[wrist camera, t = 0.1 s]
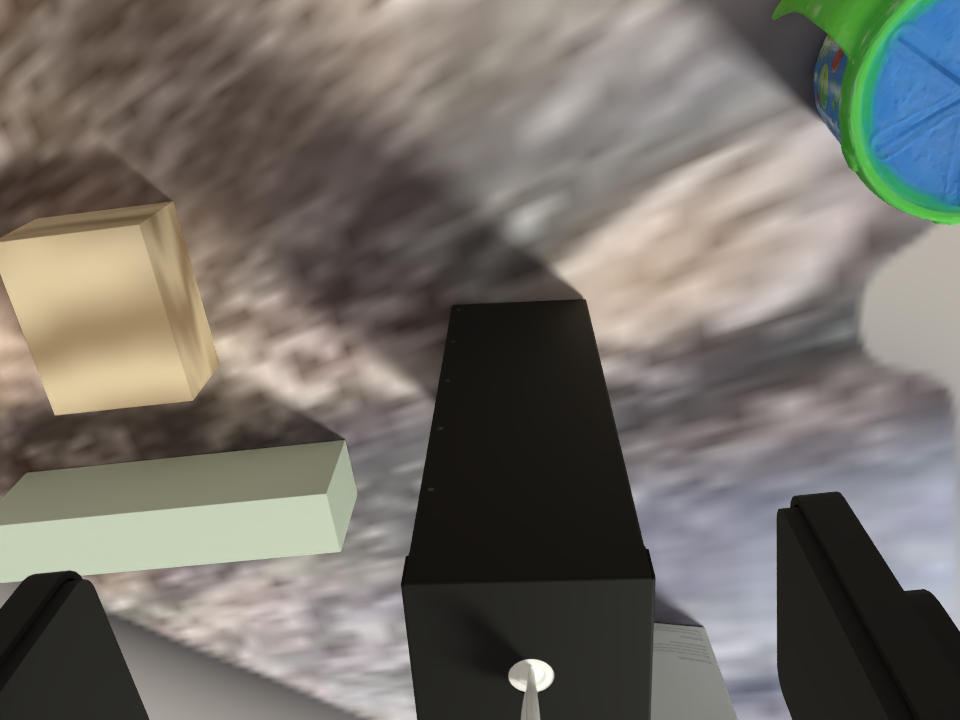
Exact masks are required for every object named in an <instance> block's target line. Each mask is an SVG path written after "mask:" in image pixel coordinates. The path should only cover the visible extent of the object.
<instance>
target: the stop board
mask: <svg viewBox="0 0 960 720" xmlns="http://www.w3.org/2000/svg"><path fill="white" fill-rule="evenodd" d="M356 497H357V489H356V485H355V480H354V476H353V472H352V467H351V463H350V459H349V454H348V450H347V446H346V441H345V440H339V441H330V442H320V443H310V444H300V445H291V446H281V447H271V448H262V449H252V450H242V451H233V452H223V453H213V454H203V455H194V456H184V457H174V458H165V459H155V460H145V461H135V462H126V463H116V464H106V465H97V466H87V467H77V468H68V469H58V470H48V471H38V472H29V473H26V474H25V475H24V476H23V477H22V478H21V479H20V480H19V481H18V482H17V483H16V484H15V485H14V486H13V487H12V488H11V489H10V490H9V491H8V492H7V493H6V494H5V495H4V497H3V498H2V499H1V500H0V583H5V582H16V581H23V580H24V579H26V578H27V577H28V576H30V575H33V574H39V573H49V572H59V571H68V570H71V571H76V572H77V573H78V574H79V575H80V576H82V575H93V574H104V573H115V572H125V571H136V570H147V569H158V568H169V567H180V566H191V565H202V564H213V563H224V562H234V561H245V560H256V559H267V558H278V557H289V556H300V555H311V554H322V553H333V552H341V549H342V545H343V542H344V538H345V535H346V532H347V528H348V525H349V521H350V518H351V514H352V511H353V508H354V504H355V501H356Z"/></svg>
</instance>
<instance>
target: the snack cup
mask: <svg viewBox="0 0 960 720" xmlns="http://www.w3.org/2000/svg"><path fill="white" fill-rule="evenodd" d="M791 12H798V13H801V14H803V15H804V16H806V17H807V18H808V19H809V20H810V21H811V22H813V23H814V24H815V25H817V26H818V27H820V28H821V29H822V30H824V31H825V32H826V33H827V36H826V37H825V39H824V42H823V45H822V48H821V50H820V53H819V56H818V59H817V63H816V66H815V69H814V81H813V83H814V94H815V100H816V102H815V105H816V108H817V110H818V112H819V115H820V117H821V118H822V119H823V121H824V122H825V124H826V125H827V127H828V129H829V130H830V131H831V132H832V134H833V135H834V136H835V137H836V139H837V140H838V141H839V142H840V144H841V148H842V153H843V155H844V157H845V160H846V162H847V164H848V166H849V168H851V169H852V170H853V171H855V172H856V174H857V175H858V176H859V178H860V179H861V181H862V182H863V183H864V184H865V185H866V186H867V187H868V188H869V189H870V190H871V191H872V192H873V193H874V194H875V195H877V196H878V197H879V198H880V199H882V200H883V201H884V202H886V203H888V204H889V205H891V206H893V207H895V208H897V209H899V210H901V211H903V212H906V213H908V214H911V215H913V216H916V217H920V218H923V219H927V220H932V221H933V222H934V223H936V224H948V225H958V224H959V223H960V0H780V2H779V4H778V5H777V7H776V9H775V11H774V12H773V14H772V19H773V20H777V19H778V18H779V17H782V16H784V15H787V14H790V13H791Z"/></svg>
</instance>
